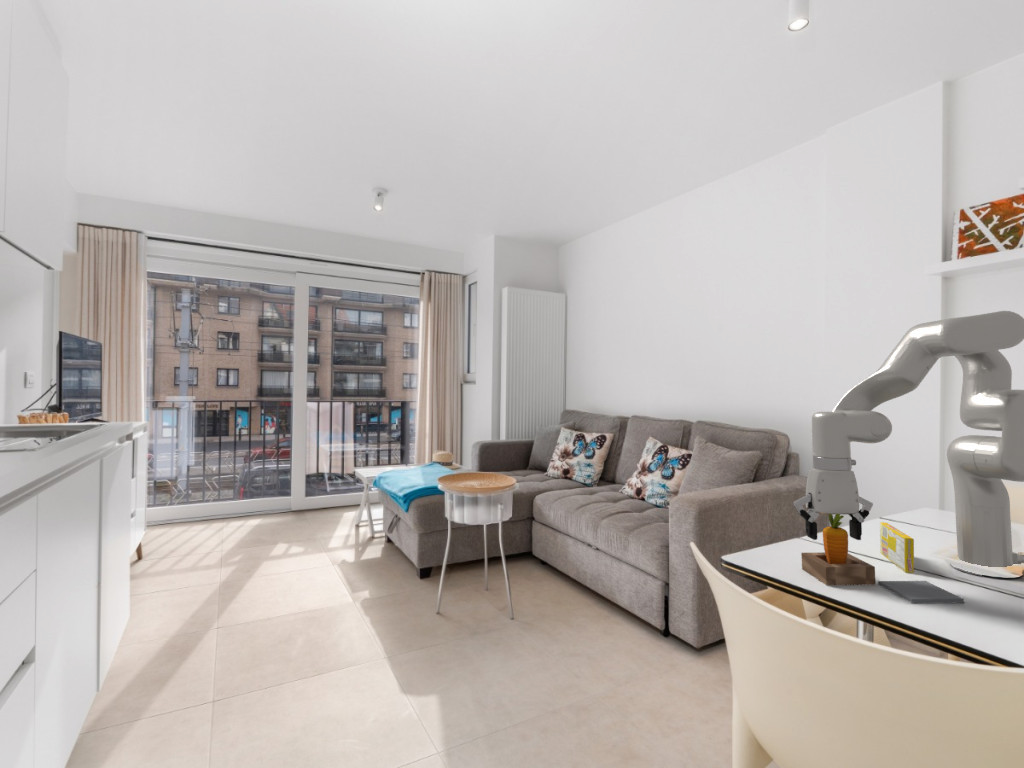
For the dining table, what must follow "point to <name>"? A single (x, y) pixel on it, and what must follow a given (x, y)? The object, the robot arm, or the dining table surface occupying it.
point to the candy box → (897, 547)
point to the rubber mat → (920, 592)
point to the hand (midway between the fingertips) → (833, 538)
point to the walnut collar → (838, 570)
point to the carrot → (835, 541)
